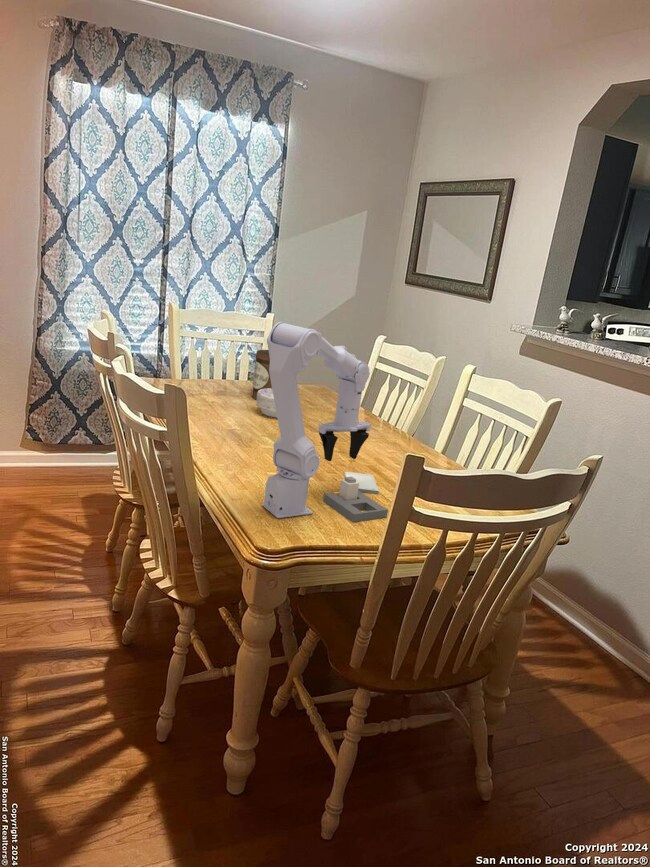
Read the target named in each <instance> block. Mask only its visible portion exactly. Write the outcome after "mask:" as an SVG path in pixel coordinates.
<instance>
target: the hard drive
mask: <svg viewBox="0 0 650 867" xmlns="http://www.w3.org/2000/svg"><path fill="white" fill-rule="evenodd" d="M343 476H344V478H345V477H353V478H355V479H356V482H358V483H359V488H358V491H360V492H361V493H363V494H369V495H379V494H380V490H379V487H378V485H377V482H376V480H375V479H376V478H375V477H374V475H373V474H368V473H361V472H353V471H351V472H350V471H344V474H343Z"/></svg>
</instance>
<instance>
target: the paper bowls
mask: <svg viewBox="0 0 650 867" xmlns="http://www.w3.org/2000/svg"><path fill="white" fill-rule="evenodd" d="M299 398H300V399H301V396H299ZM255 401H256V406H257V407H258V408H260V410H261V412H262V414H263V415H265V416H267V417H268V418H269V417H271V418H274V419H275V418H276V419H278V418H277V413H276V407H275V402H274V396H273V390H272V388H267V389H260V390H259V391H258V392H257V400H255Z"/></svg>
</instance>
